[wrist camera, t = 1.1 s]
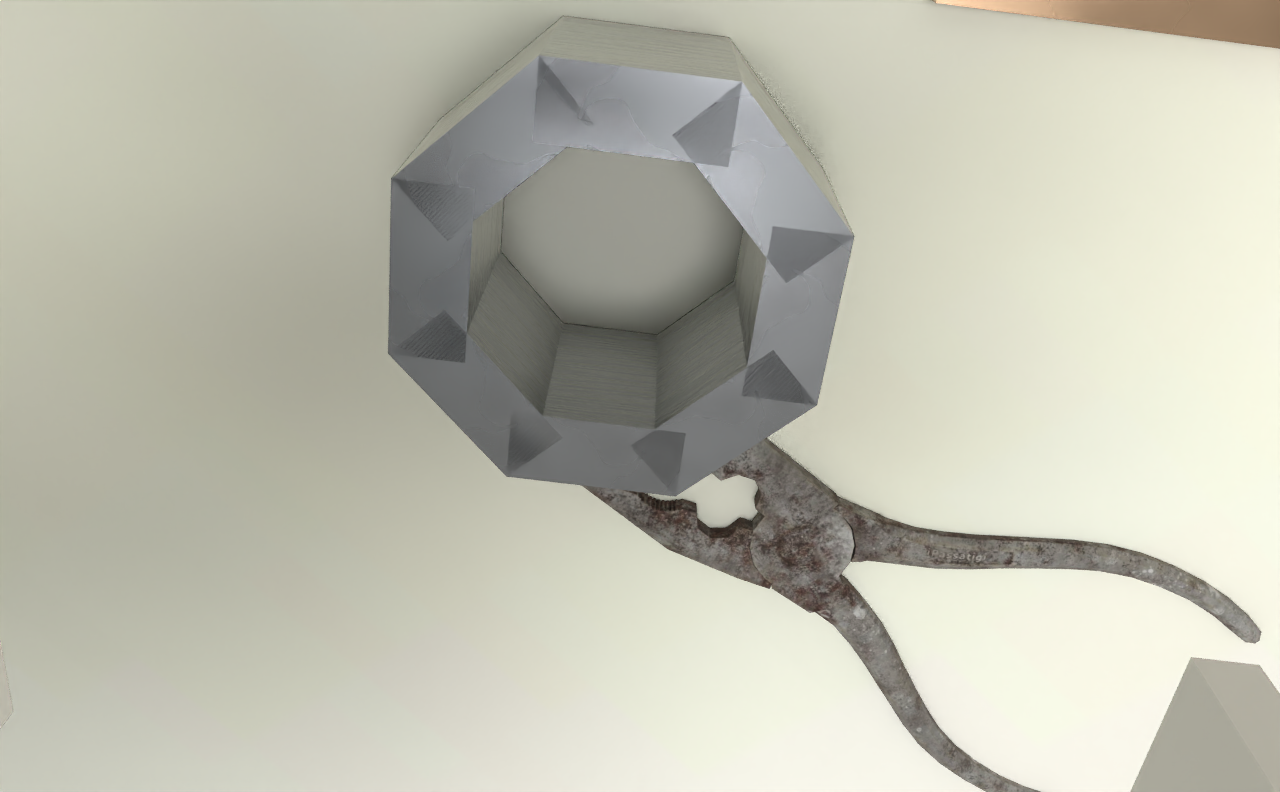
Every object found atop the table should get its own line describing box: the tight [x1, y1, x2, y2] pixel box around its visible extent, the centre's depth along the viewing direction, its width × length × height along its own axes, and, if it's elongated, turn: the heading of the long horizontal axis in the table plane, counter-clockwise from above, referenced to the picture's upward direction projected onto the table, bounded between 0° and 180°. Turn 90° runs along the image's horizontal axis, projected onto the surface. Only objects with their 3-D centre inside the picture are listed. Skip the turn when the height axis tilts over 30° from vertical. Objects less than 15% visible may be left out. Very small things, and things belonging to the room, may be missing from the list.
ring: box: [388, 16, 854, 496], centre depth 24 cm, size 9×9×5 cm
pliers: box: [582, 438, 1261, 792], centre depth 32 cm, size 10×1×20 cm
